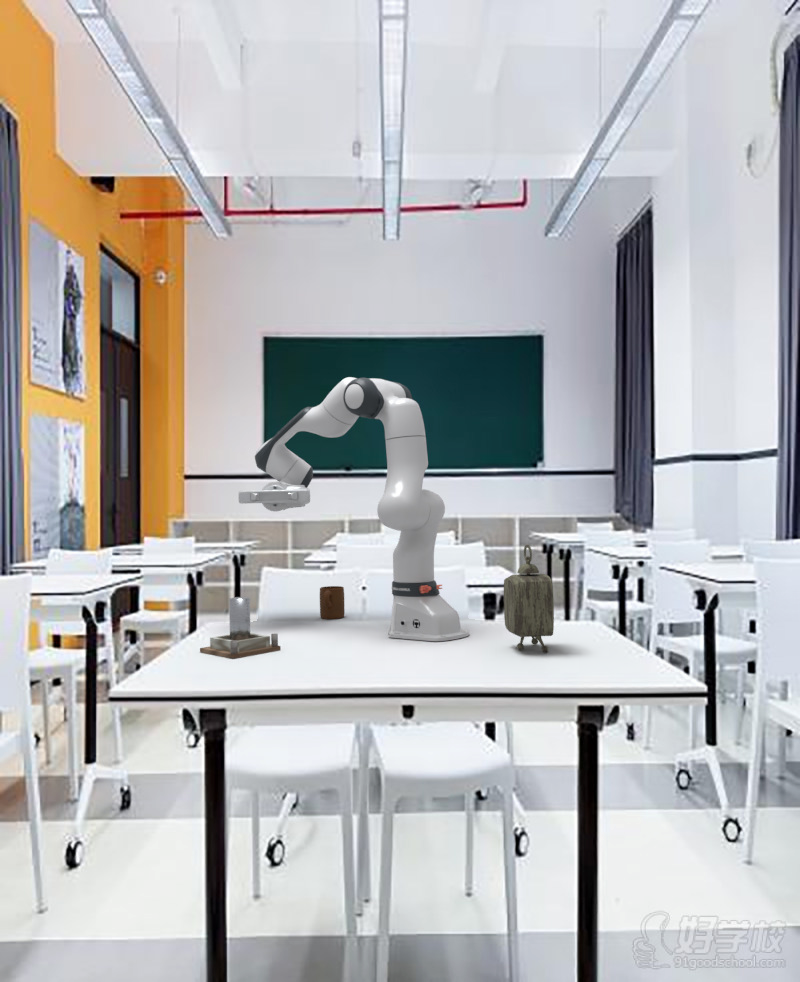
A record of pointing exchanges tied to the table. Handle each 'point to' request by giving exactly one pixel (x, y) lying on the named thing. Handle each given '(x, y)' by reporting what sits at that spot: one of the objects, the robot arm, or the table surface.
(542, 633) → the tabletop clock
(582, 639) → the table surface
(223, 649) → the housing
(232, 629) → the pin
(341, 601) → the mug
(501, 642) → the table surface
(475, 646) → the table surface
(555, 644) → the table surface
